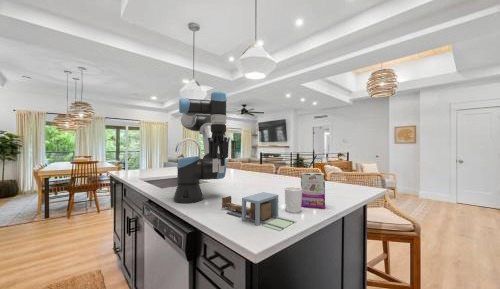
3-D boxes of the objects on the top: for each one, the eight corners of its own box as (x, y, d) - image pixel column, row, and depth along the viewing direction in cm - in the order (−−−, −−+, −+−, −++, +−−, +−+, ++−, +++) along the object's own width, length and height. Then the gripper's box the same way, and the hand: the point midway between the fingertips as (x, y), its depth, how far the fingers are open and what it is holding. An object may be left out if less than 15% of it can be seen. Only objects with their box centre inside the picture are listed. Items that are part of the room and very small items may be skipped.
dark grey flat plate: (226, 213, 94) (226, 213, 94) (241, 208, 102) (241, 208, 102) (239, 217, 89) (239, 217, 89) (255, 211, 97) (255, 211, 97)
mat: (262, 225, 80) (262, 224, 80) (280, 217, 89) (280, 216, 89) (279, 231, 75) (279, 230, 75) (296, 221, 84) (296, 221, 84)
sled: (221, 209, 99) (221, 195, 99) (230, 206, 104) (230, 193, 104) (262, 220, 84) (262, 205, 84) (270, 216, 89) (270, 202, 89)
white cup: (282, 211, 97) (282, 189, 97) (287, 207, 104) (287, 186, 104) (299, 214, 93) (299, 191, 93) (304, 209, 100) (304, 188, 100)
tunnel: (222, 214, 93) (223, 193, 93) (244, 207, 103) (244, 188, 103) (278, 231, 75) (278, 205, 75) (297, 221, 85) (297, 198, 85)
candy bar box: (324, 206, 106) (324, 172, 106) (325, 209, 101) (325, 174, 101) (301, 204, 109) (301, 171, 109) (300, 207, 105) (300, 173, 105)
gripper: (201, 124, 108) (201, 171, 108) (224, 122, 97) (224, 174, 97) (213, 125, 113) (213, 170, 113) (236, 123, 103) (236, 173, 103)
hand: (218, 172), depth 105 cm, fingers open, 4 cm apart
